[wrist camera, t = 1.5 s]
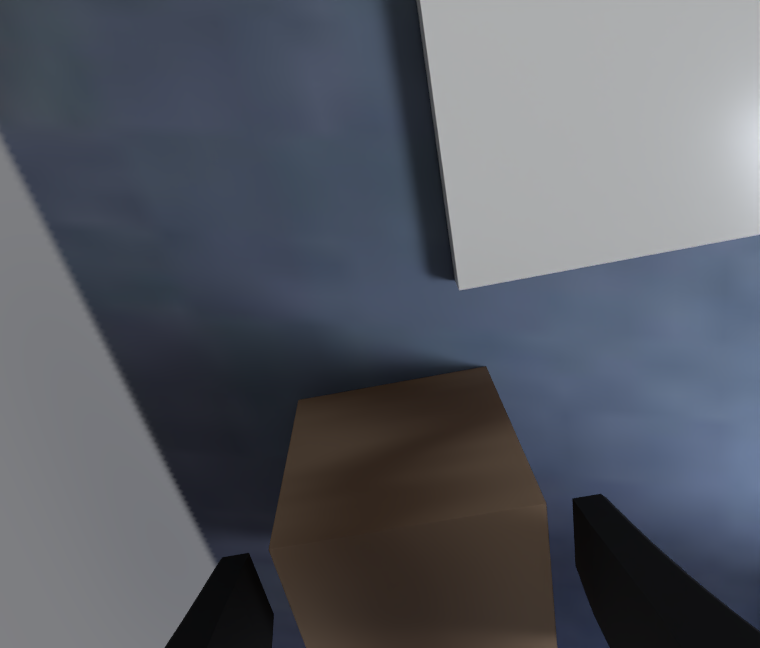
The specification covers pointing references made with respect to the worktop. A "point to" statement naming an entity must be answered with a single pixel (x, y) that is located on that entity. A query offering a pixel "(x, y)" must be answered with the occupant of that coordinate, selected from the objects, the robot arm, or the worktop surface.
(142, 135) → the worktop surface
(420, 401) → the walnut block
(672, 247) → the cream tile
